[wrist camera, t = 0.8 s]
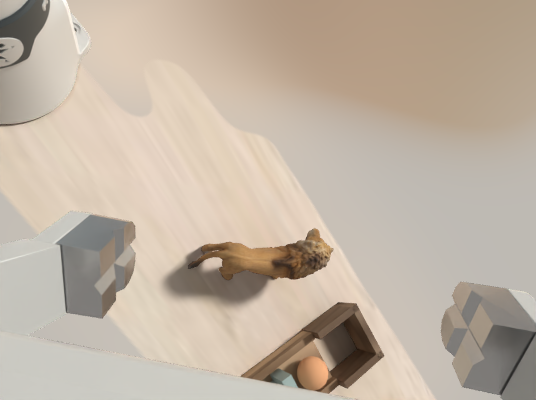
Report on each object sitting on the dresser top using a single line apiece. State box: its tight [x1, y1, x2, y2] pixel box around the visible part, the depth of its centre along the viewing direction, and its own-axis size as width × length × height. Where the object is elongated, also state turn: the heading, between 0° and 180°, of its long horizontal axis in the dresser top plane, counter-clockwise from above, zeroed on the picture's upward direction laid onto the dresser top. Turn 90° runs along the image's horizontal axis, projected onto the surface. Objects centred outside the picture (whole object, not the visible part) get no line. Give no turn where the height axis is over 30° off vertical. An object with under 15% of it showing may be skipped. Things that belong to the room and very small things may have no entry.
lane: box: [241, 331, 339, 394], centre depth 44 cm, size 7×9×2 cm
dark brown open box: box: [302, 302, 384, 388], centre depth 47 cm, size 7×6×4 cm
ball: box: [297, 356, 328, 390], centre depth 43 cm, size 4×4×4 cm
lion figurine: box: [188, 228, 333, 280], centre depth 42 cm, size 15×5×9 cm, turn 97°
